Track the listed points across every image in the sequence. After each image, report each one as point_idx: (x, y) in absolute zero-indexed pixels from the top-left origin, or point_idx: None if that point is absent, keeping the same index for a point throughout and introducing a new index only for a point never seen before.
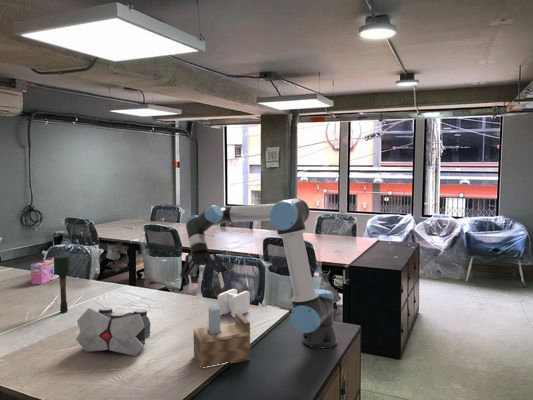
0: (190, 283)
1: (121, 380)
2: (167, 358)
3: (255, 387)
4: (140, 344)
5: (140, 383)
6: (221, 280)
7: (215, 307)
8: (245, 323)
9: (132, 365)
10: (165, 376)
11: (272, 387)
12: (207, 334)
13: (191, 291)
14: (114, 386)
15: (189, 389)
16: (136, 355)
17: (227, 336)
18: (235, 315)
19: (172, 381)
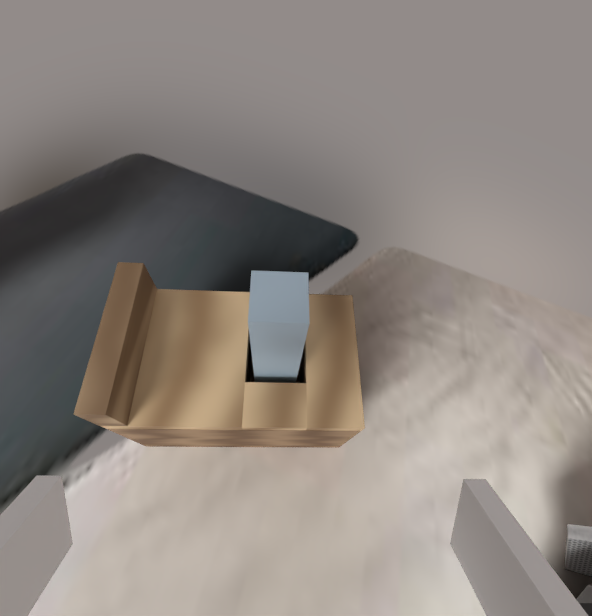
0: (527, 545)
1: (565, 373)
2: (436, 472)
3: (231, 213)
4: (586, 526)
5: (506, 336)
6: (3, 543)
7: (265, 307)
8: (143, 264)
9: (558, 466)
10: (440, 345)
11: (195, 199)
12: (313, 338)
13: (453, 539)
14: (575, 348)
15: (381, 262)
16: (565, 553)
17: (240, 292)
18: (110, 415)
19: (420, 312)
